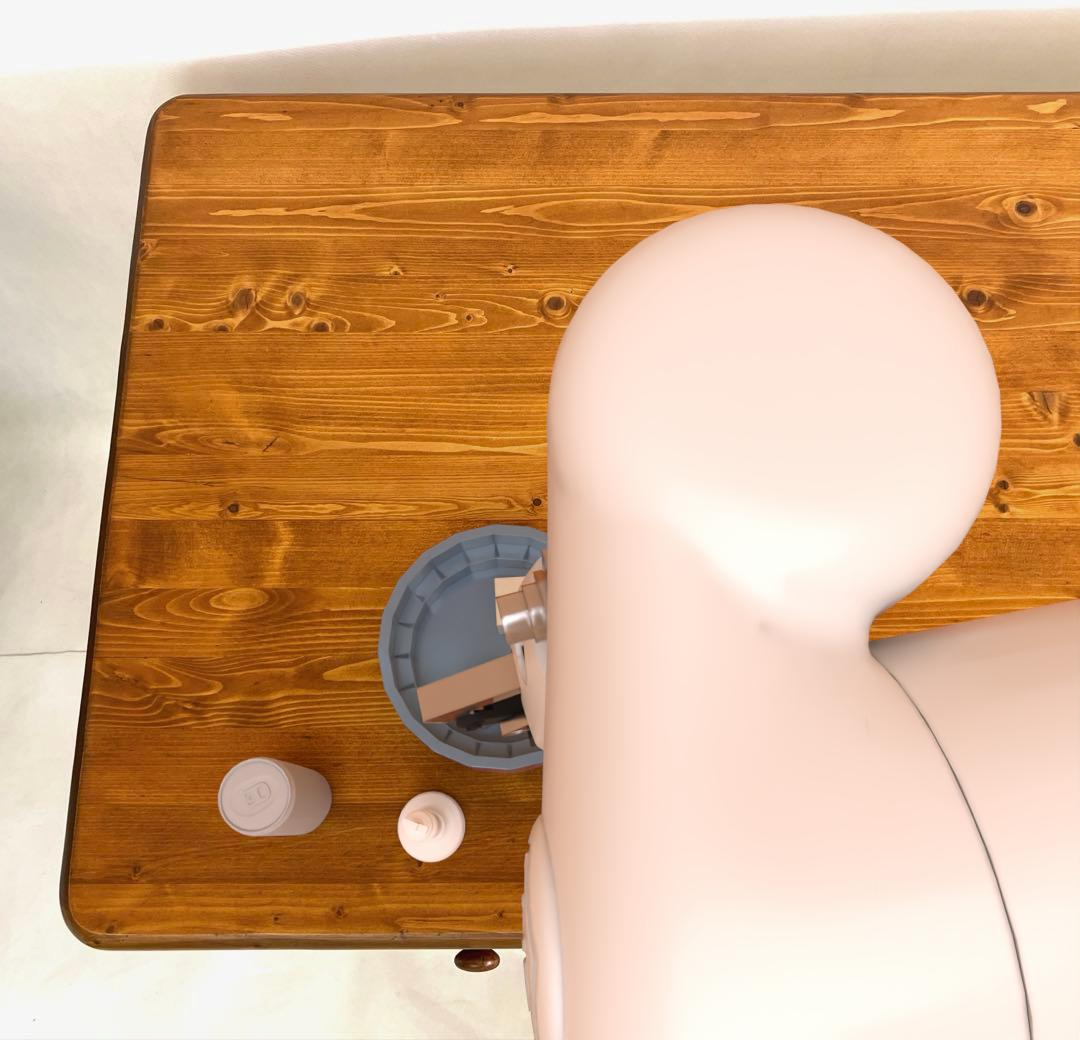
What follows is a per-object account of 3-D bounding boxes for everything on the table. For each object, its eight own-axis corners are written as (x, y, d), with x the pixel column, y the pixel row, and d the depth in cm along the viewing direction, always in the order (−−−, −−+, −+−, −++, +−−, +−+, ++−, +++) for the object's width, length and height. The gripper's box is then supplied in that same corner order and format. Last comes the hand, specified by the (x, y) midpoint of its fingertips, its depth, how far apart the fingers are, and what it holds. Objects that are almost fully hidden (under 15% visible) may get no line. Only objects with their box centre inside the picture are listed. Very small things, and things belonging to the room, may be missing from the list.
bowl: (645, 741, 73) (653, 734, 68) (415, 798, 72) (404, 796, 67) (587, 523, 78) (590, 501, 73) (371, 573, 77) (358, 554, 72)
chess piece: (451, 871, 70) (436, 878, 61) (387, 848, 71) (362, 851, 61) (474, 804, 72) (463, 800, 62) (412, 782, 72) (391, 774, 63)
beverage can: (258, 786, 72) (203, 778, 61) (318, 755, 73) (275, 742, 62) (283, 847, 71) (232, 850, 60) (344, 815, 72) (305, 813, 60)
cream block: (545, 631, 75) (545, 622, 72) (498, 634, 75) (496, 625, 72) (542, 586, 76) (542, 574, 73) (496, 589, 76) (494, 577, 73)
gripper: (404, 800, 25) (463, 820, 41) (1040, 629, 26) (853, 714, 42) (348, 528, 27) (424, 649, 43) (933, 383, 28) (794, 553, 45)
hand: (636, 681), depth 43 cm, fingers open, 9 cm apart
